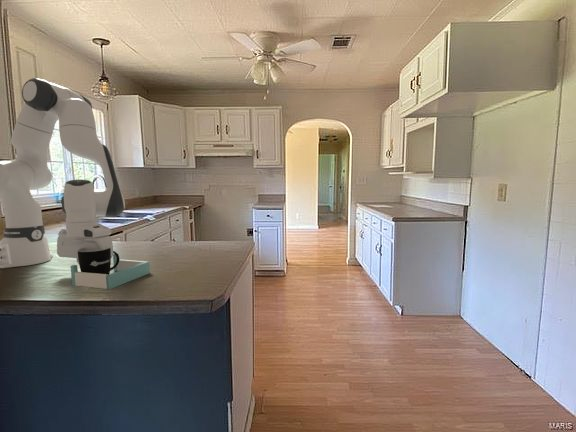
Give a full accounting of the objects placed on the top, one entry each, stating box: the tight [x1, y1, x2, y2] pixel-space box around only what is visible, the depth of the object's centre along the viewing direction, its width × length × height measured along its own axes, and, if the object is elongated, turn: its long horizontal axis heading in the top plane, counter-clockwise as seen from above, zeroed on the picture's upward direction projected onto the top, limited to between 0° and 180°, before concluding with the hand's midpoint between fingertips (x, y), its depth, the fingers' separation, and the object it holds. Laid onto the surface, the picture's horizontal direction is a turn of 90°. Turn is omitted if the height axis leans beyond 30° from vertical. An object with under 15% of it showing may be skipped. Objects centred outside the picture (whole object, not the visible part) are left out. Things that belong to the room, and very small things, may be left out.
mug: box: [78, 247, 120, 275], centre depth 104 cm, size 12×9×10 cm
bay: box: [70, 253, 151, 290], centre depth 104 cm, size 14×17×6 cm
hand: (86, 271), depth 108 cm, fingers closed
